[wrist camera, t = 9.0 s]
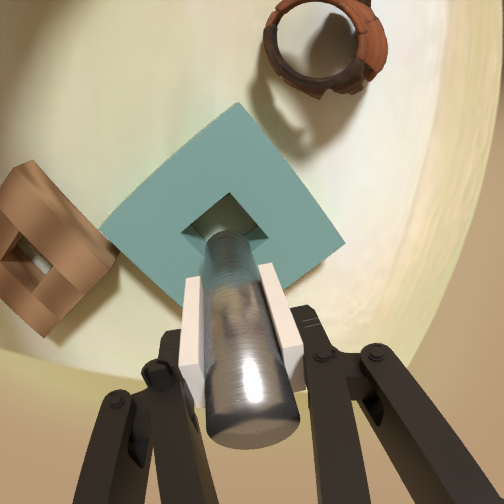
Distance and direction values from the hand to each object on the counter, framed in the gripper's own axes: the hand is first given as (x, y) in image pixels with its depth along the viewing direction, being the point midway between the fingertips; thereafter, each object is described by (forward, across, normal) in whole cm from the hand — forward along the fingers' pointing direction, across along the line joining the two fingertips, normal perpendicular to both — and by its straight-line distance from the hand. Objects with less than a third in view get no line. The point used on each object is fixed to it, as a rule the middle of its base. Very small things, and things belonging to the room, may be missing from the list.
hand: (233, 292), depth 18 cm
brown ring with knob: (+12, +11, +15) cm, 22 cm away
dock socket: (+11, 0, 0) cm, 11 cm away
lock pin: (+5, 0, 0) cm, 5 cm away
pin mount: (+11, -18, +1) cm, 21 cm away
